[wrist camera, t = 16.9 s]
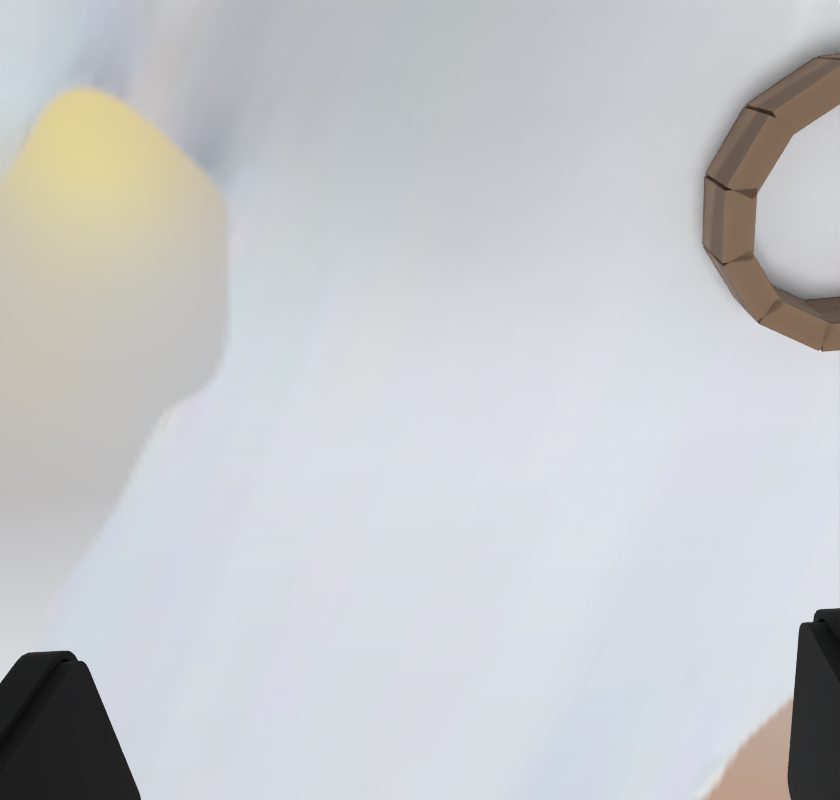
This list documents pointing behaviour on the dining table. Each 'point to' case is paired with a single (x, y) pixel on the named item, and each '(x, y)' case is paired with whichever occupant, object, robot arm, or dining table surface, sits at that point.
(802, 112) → the walnut collar
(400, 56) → the dining table surface
